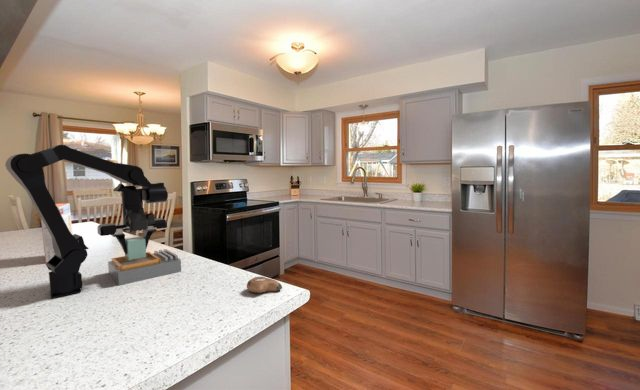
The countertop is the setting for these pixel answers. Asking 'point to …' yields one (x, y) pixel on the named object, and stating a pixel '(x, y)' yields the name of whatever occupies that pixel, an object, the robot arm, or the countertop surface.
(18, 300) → the countertop surface
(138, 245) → the mint green box
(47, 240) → the cracker box
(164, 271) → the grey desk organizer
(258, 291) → the brown rounded lump
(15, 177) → the robot arm
